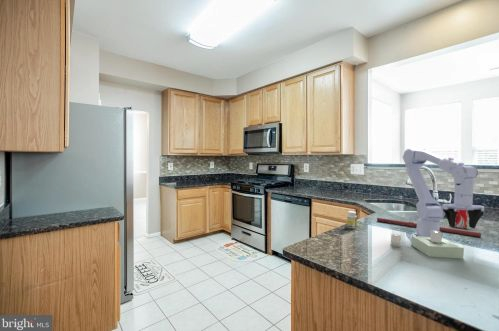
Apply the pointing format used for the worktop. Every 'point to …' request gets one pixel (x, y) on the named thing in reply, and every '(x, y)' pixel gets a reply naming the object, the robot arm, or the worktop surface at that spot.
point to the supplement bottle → (351, 219)
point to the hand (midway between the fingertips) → (461, 227)
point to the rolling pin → (445, 229)
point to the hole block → (437, 248)
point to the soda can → (461, 218)
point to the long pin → (436, 237)
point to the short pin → (396, 240)
